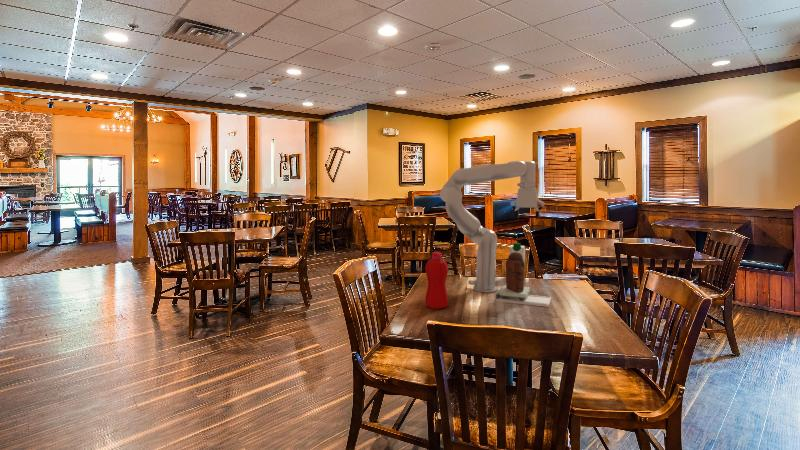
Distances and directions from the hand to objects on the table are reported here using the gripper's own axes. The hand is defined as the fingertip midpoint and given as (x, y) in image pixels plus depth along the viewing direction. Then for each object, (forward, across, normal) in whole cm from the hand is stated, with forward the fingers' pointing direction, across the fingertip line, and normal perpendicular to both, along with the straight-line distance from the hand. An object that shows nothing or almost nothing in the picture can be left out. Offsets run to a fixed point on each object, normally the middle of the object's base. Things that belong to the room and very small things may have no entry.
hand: (527, 218), depth 231 cm
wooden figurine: (+32, -1, -25) cm, 41 cm away
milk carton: (+37, -9, +21) cm, 43 cm away
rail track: (+36, +3, -25) cm, 44 cm away
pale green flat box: (+35, -1, -25) cm, 43 cm away
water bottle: (+36, -30, -52) cm, 70 cm away
